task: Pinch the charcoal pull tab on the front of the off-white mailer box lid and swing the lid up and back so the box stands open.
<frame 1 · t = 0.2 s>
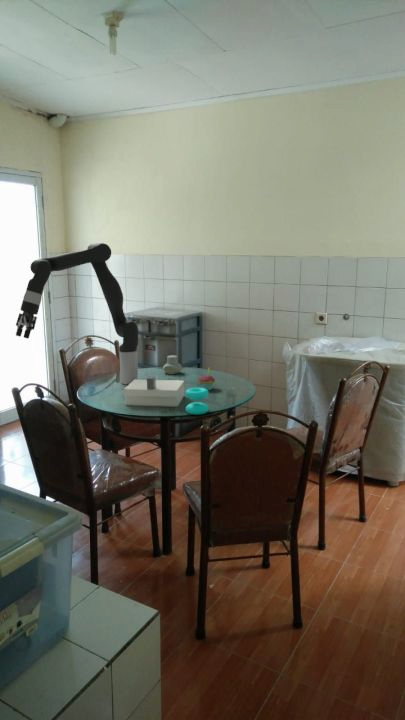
hand: (21, 337, 231), 31 cm above the table, tool tilted 20°, fingers open, 8 cm apart
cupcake: (206, 389, 259), on the table
air freshener: (172, 373, 294), on the table
mailer base: (155, 400, 240), on the table
lid: (154, 382, 237), point 9 cm above the table, hinge at 0.0°
donuts: (197, 412, 222), on the table
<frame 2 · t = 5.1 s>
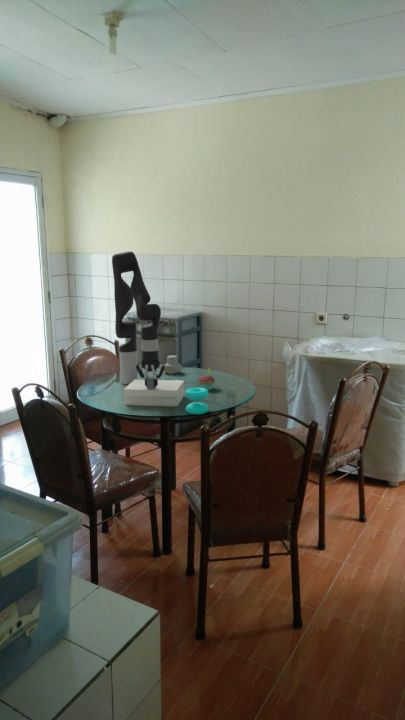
hand: (151, 386, 231), 9 cm above the table, tool pointing down, fingers closed on lid, 3 cm apart
lid: (154, 382, 237), point 9 cm above the table, hinge at 0.0°, touching gripper
everything else where it was.
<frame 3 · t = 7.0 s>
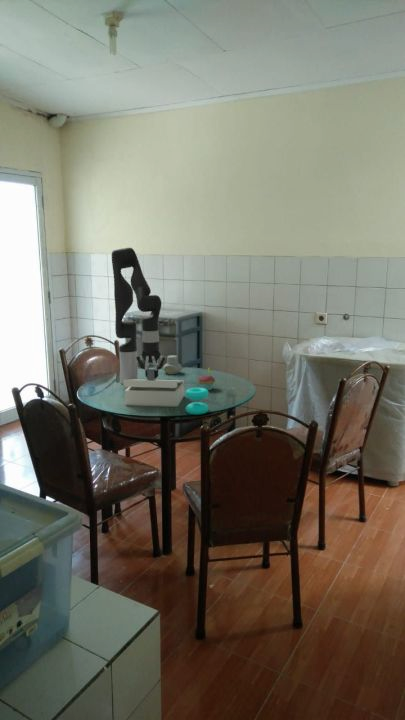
hand: (151, 377, 232), 12 cm above the table, tool pointing down, fingers closed on lid, 3 cm apart
lid: (154, 378, 237), point 11 cm above the table, hinge at 13.3°, touching gripper
everything else where it was.
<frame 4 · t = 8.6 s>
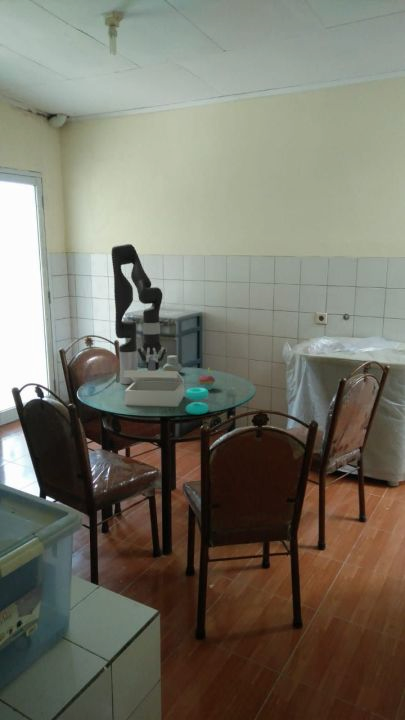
hand: (153, 369, 234), 16 cm above the table, tool pointing down, fingers closed on lid, 3 cm apart
lid: (155, 373, 238), point 13 cm above the table, hinge at 27.1°, touching gripper
everything else where it was.
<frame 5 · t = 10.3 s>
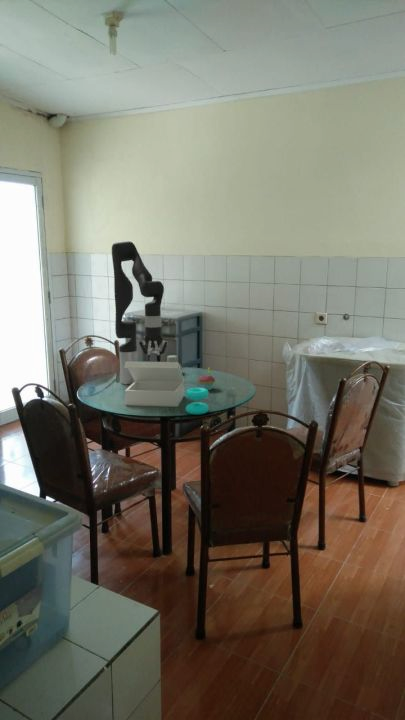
hand: (154, 362, 236), 18 cm above the table, tool pointing down, fingers closed on lid, 3 cm apart
lid: (155, 369, 239), point 14 cm above the table, hinge at 40.7°, touching gripper
everything else where it was.
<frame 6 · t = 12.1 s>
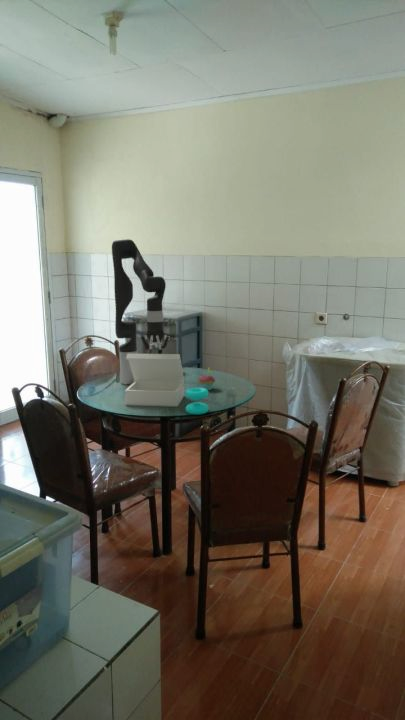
hand: (156, 357, 240), 20 cm above the table, tool pointing down, fingers closed on lid, 3 cm apart
lid: (156, 365, 241), point 16 cm above the table, hinge at 55.2°, touching gripper
everything else where it was.
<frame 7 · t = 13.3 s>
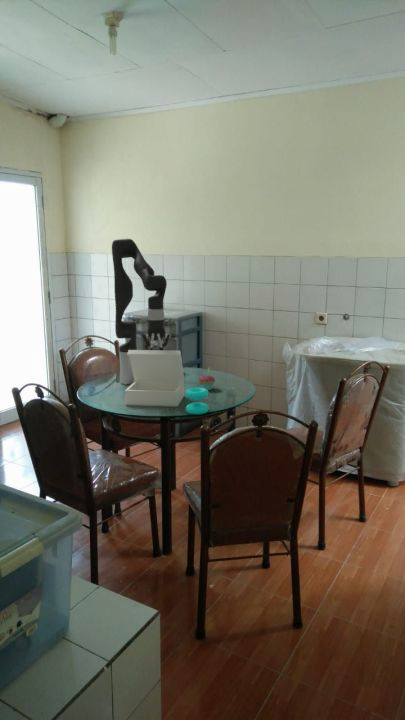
hand: (157, 355, 242), 21 cm above the table, tool pointing down, fingers closed on lid, 3 cm apart
lid: (157, 364, 242), point 16 cm above the table, hinge at 63.2°, touching gripper
everything else where it was.
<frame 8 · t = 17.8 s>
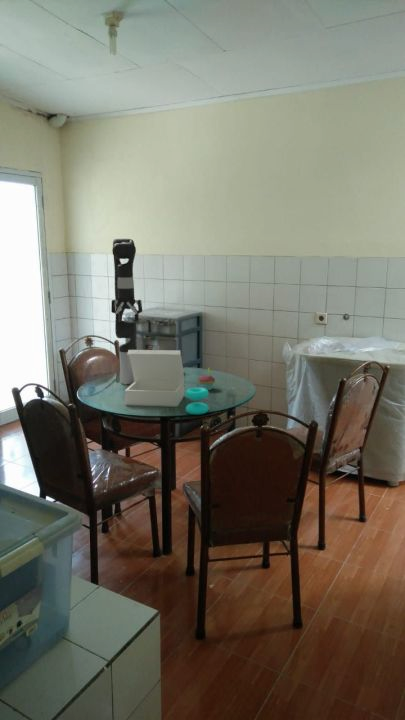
hand: (127, 321, 241), 36 cm above the table, tool pointing down, fingers open, 8 cm apart
lid: (157, 364, 242), point 16 cm above the table, hinge at 63.5°
everything else where it was.
at the end: lid at +64° (first picture: +0°); the gripper is holding nothing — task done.
